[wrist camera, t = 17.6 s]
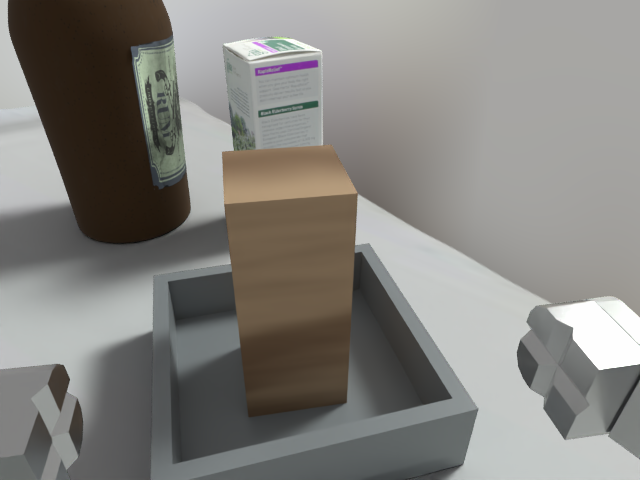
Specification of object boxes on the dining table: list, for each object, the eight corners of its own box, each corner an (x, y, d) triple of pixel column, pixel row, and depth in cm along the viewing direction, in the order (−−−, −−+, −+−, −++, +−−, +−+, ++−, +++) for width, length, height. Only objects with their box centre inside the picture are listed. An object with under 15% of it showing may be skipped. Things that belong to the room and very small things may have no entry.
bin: (164, 326, 31) (153, 275, 29) (365, 291, 34) (369, 243, 32) (167, 544, 20) (150, 488, 18) (463, 464, 23) (478, 408, 21)
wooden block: (346, 402, 25) (357, 193, 19) (248, 417, 24) (224, 204, 18) (328, 335, 29) (331, 144, 23) (243, 345, 29) (222, 151, 22)
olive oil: (46, 246, 39) (-96, -155, 26) (103, 187, 48) (19, -134, 34) (178, 251, 39) (104, -155, 25) (210, 190, 47) (169, -134, 34)
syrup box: (326, 227, 42) (328, 47, 34) (261, 245, 39) (247, 56, 32) (296, 199, 46) (292, 33, 38) (236, 213, 44) (219, 40, 36)
